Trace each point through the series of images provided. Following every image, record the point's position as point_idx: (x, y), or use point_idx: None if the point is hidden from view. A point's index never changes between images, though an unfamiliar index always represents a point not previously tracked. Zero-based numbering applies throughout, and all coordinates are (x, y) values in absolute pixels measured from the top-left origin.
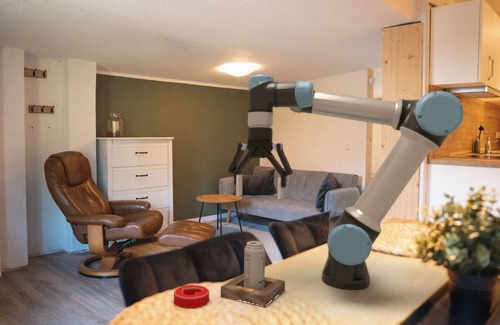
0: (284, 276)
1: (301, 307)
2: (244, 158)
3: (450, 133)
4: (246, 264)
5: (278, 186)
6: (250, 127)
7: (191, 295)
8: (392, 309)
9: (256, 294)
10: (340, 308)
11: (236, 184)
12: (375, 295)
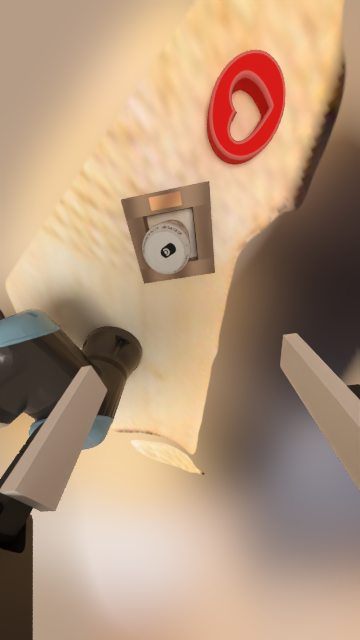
0: (179, 322)
1: (93, 240)
2: None
3: None
4: (173, 222)
5: (55, 418)
6: None
7: (232, 81)
8: (29, 307)
9: (136, 196)
10: (62, 272)
11: (341, 382)
12: (66, 331)
